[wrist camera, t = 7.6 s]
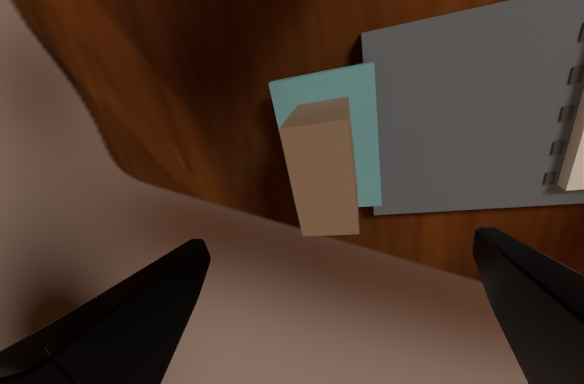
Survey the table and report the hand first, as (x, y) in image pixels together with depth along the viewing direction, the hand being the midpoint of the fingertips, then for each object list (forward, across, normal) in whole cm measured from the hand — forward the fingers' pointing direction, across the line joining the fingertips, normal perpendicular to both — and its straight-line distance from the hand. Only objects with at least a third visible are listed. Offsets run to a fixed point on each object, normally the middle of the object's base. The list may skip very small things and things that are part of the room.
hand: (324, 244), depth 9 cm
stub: (+10, 0, 0) cm, 10 cm away
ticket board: (+12, -13, 0) cm, 18 cm away
